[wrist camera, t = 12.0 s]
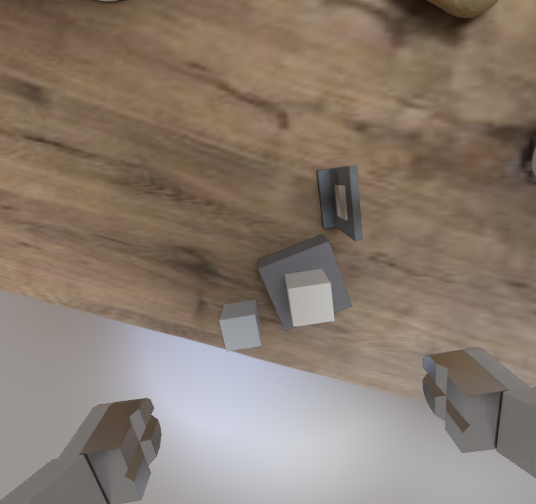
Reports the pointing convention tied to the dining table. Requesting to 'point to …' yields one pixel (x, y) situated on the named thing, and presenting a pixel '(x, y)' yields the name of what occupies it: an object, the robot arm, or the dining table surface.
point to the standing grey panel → (340, 200)
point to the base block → (298, 260)
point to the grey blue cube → (240, 325)
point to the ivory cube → (309, 297)
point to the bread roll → (464, 7)
